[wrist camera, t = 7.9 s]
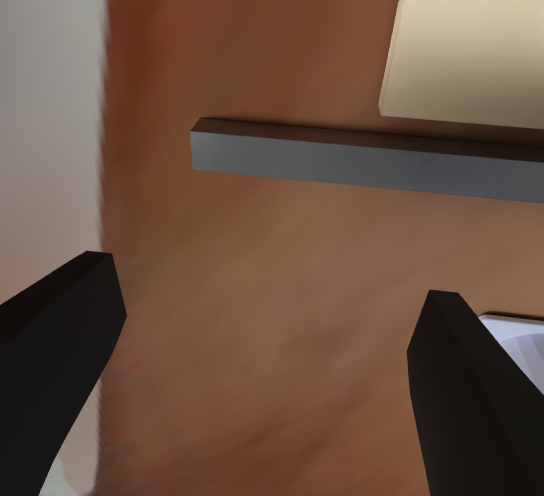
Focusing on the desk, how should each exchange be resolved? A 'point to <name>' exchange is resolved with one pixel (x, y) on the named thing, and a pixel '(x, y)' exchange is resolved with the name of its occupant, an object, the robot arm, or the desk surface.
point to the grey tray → (370, 159)
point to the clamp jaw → (467, 62)
